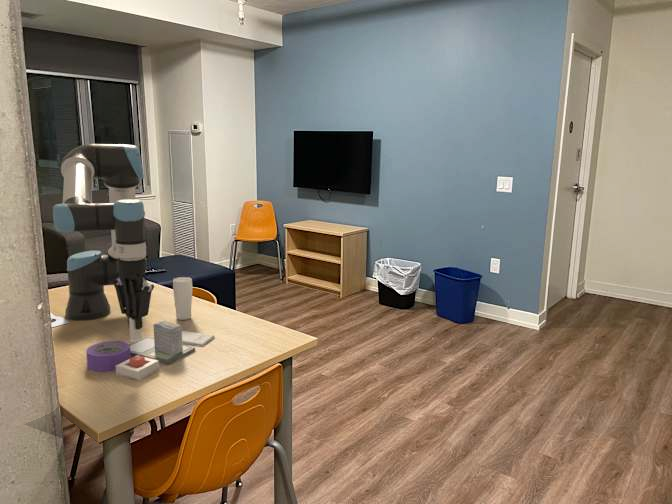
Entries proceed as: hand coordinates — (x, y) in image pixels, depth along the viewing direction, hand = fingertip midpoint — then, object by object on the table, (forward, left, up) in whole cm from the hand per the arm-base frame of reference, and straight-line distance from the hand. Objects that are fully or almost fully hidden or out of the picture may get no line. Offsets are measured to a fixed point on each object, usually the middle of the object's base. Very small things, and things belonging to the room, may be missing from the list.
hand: (135, 338), depth 142 cm
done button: (0, 0, -9) cm, 9 cm away
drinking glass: (-19, +42, -10) cm, 47 cm away
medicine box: (-1, +14, -9) cm, 16 cm away
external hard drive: (-3, +27, -11) cm, 29 cm away
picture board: (-6, +14, -10) cm, 18 cm away
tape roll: (-12, +1, -11) cm, 16 cm away
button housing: (0, 0, -10) cm, 10 cm away
